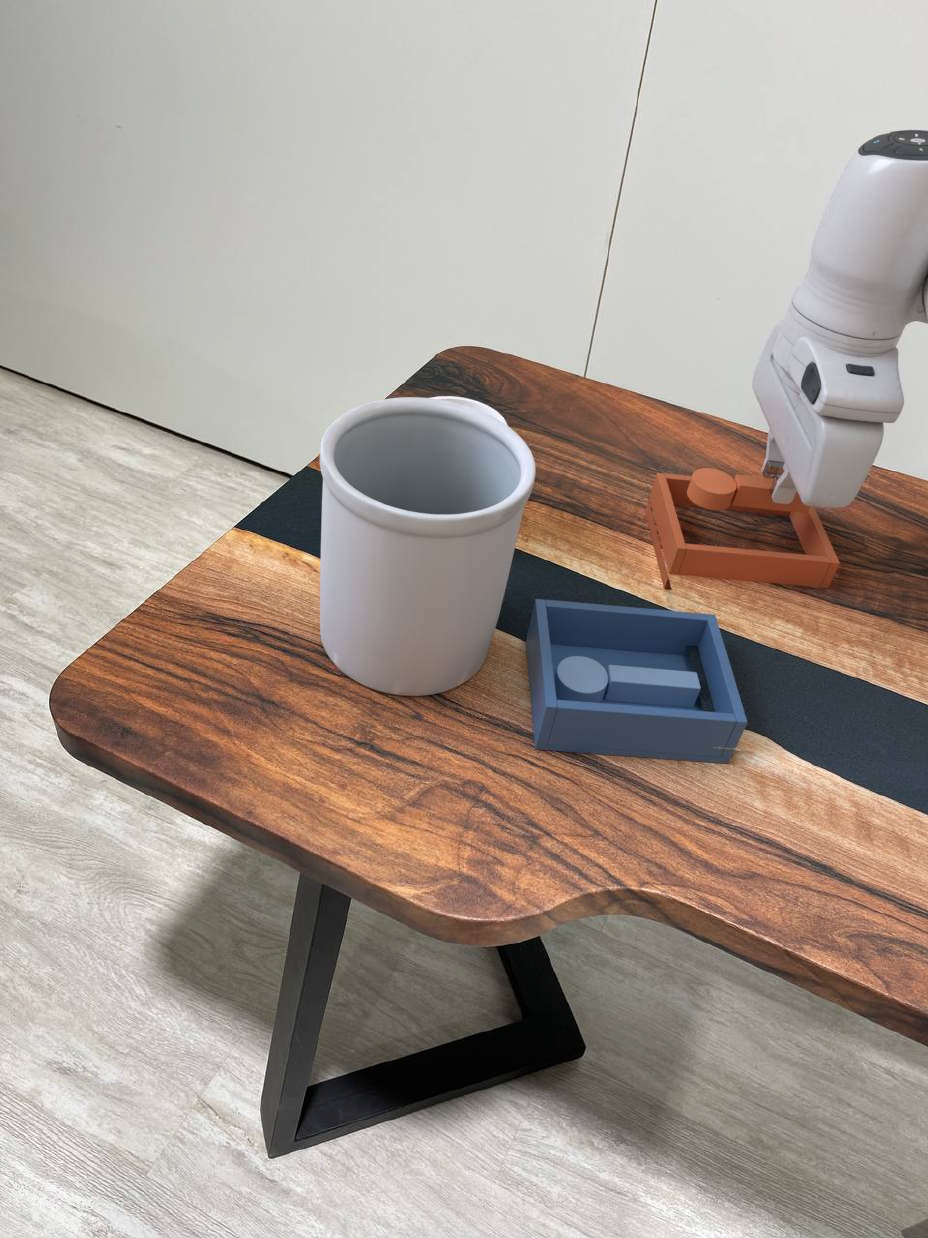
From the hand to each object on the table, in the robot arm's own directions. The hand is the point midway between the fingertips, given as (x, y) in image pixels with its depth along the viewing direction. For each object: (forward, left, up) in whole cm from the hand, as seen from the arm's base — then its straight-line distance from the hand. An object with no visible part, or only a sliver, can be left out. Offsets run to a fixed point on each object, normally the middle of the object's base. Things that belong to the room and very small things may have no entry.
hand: (775, 488), depth 90 cm
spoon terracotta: (+2, 0, -2) cm, 3 cm away
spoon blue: (+15, +20, -7) cm, 26 cm away
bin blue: (+15, +20, -8) cm, 26 cm away
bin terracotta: (+2, 0, -8) cm, 8 cm away
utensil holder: (+32, +15, -8) cm, 36 cm away
